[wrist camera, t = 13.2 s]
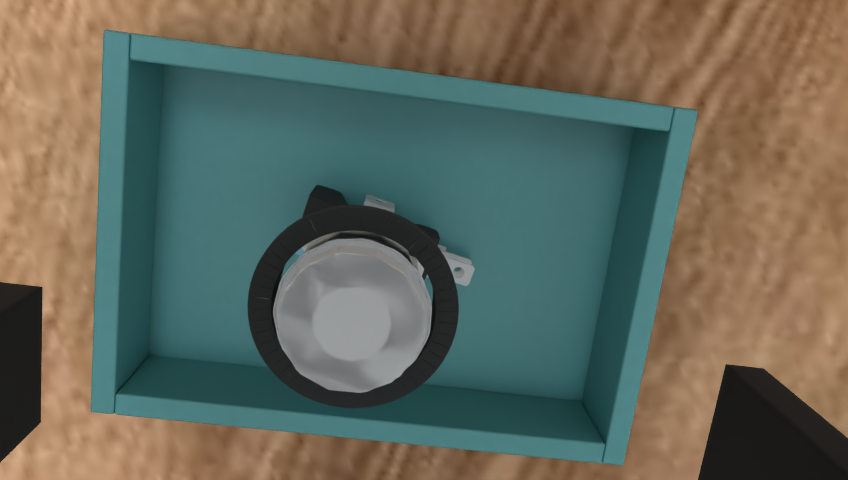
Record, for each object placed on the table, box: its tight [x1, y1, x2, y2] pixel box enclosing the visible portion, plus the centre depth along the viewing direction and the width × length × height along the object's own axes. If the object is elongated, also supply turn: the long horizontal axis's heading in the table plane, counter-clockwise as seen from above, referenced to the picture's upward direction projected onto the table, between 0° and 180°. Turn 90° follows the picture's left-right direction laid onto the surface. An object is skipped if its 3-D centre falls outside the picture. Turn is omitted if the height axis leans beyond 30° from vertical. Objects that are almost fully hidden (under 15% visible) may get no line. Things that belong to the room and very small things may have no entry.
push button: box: [247, 185, 475, 408], centre depth 22 cm, size 7×5×10 cm
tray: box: [91, 30, 698, 465], centre depth 26 cm, size 19×13×4 cm
